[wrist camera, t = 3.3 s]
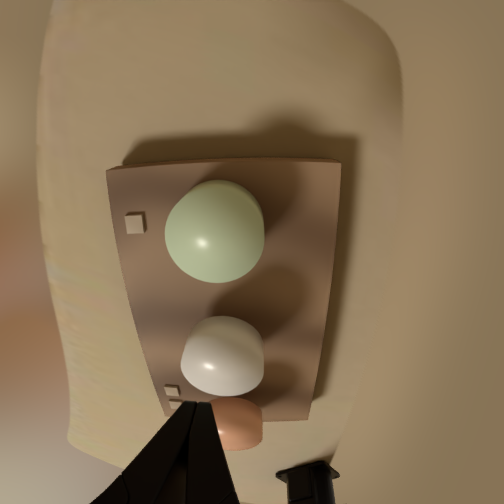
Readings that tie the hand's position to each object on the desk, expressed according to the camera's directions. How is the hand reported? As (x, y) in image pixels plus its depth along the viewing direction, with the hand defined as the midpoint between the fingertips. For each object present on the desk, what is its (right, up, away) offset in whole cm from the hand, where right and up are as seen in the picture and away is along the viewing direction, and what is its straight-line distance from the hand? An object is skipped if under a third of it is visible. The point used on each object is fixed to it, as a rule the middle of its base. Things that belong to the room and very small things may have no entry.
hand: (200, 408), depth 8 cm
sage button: (0, +6, +7) cm, 9 cm away
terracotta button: (0, -7, +11) cm, 13 cm away
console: (0, +1, +11) cm, 11 cm away
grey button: (0, -1, +8) cm, 9 cm away
